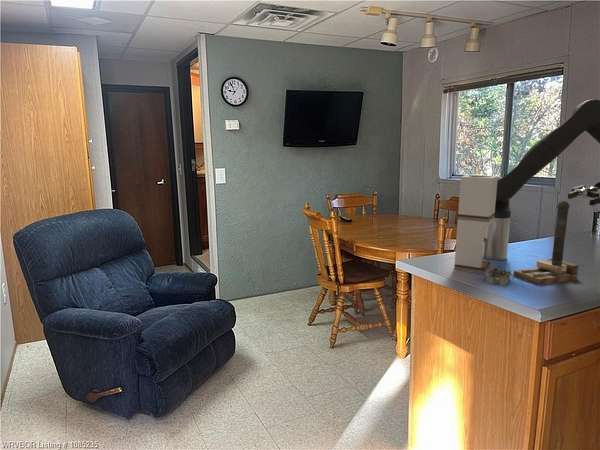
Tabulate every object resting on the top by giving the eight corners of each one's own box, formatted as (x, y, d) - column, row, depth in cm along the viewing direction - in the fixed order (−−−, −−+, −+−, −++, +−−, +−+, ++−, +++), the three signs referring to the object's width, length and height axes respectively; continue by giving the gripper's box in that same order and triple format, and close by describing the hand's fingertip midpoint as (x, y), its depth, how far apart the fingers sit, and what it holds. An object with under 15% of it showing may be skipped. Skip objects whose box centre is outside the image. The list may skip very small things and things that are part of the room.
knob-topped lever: (555, 272, 156) (563, 202, 151) (536, 266, 163) (543, 199, 159) (566, 270, 157) (574, 201, 153) (546, 265, 165) (553, 198, 160)
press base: (539, 284, 152) (540, 270, 151) (513, 275, 162) (514, 262, 161) (578, 279, 158) (580, 265, 157) (551, 270, 168) (552, 257, 167)
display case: (483, 273, 164) (492, 178, 158) (454, 269, 170) (460, 176, 163) (489, 266, 173) (497, 175, 167) (461, 262, 179) (468, 174, 173)
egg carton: (506, 287, 151) (507, 275, 150) (483, 282, 155) (484, 271, 154) (512, 278, 159) (513, 267, 158) (489, 275, 163) (490, 264, 163)
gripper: (595, 174, 170) (562, 184, 165) (633, 183, 157) (599, 195, 153) (592, 192, 173) (561, 203, 168) (630, 203, 160) (596, 215, 156)
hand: (579, 199), depth 161 cm, fingers open, 8 cm apart
